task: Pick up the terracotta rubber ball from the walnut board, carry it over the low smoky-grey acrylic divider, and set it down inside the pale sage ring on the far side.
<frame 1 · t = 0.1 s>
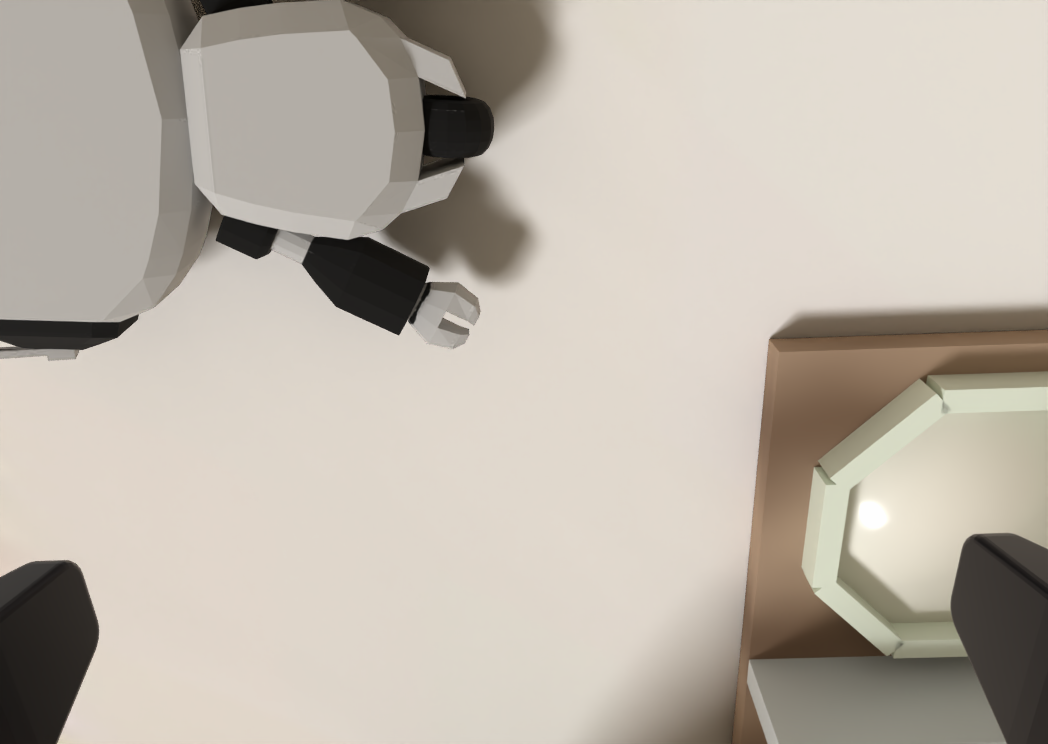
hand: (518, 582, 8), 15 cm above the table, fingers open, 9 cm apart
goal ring: (962, 514, 24), resting on fence board
fence board: (917, 633, 27), on the table
robot toy: (210, 102, 20), on the table
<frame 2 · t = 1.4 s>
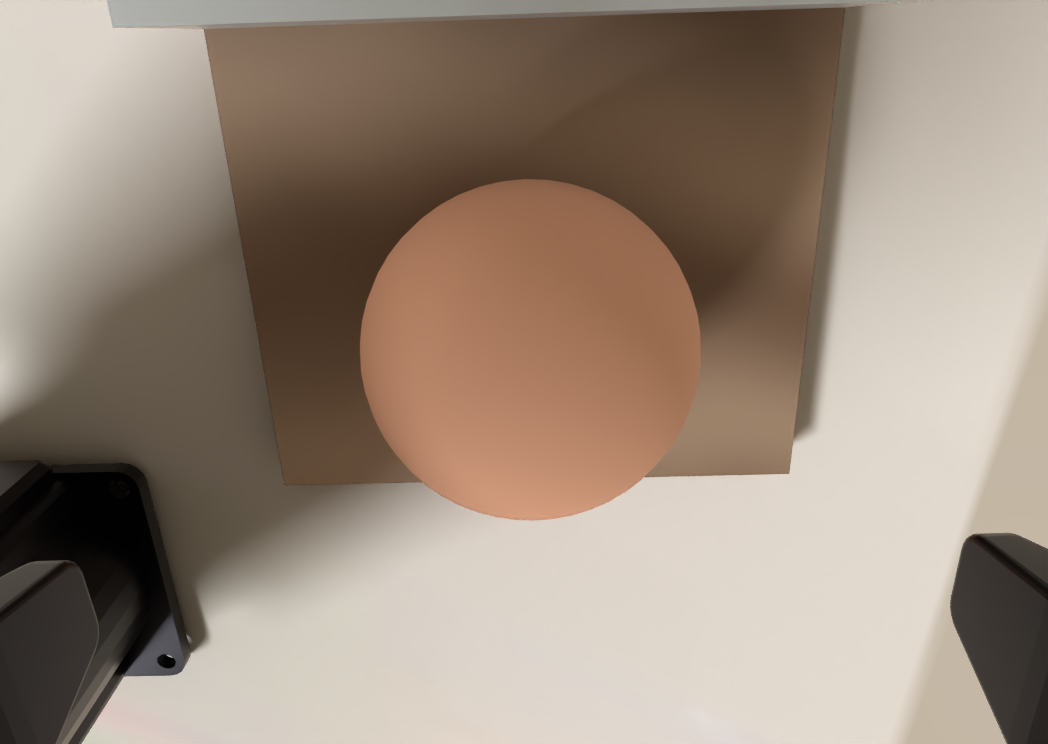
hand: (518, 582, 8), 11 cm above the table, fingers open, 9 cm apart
rubber ball: (530, 350, 14), point 4 cm above the table, touching fence board
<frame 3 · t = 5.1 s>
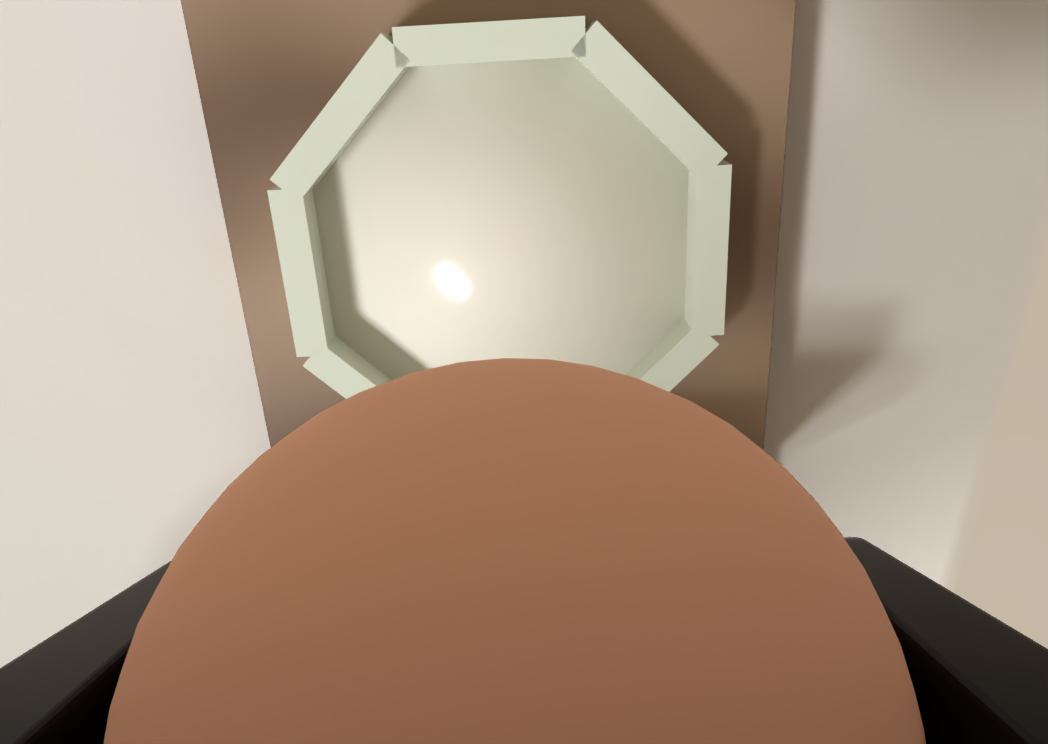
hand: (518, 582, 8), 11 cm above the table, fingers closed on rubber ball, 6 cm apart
rubber ball: (516, 727, 6), point 13 cm above the table, touching gripper
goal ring: (504, 253, 17), resting on fence board
fence board: (519, 452, 20), on the table
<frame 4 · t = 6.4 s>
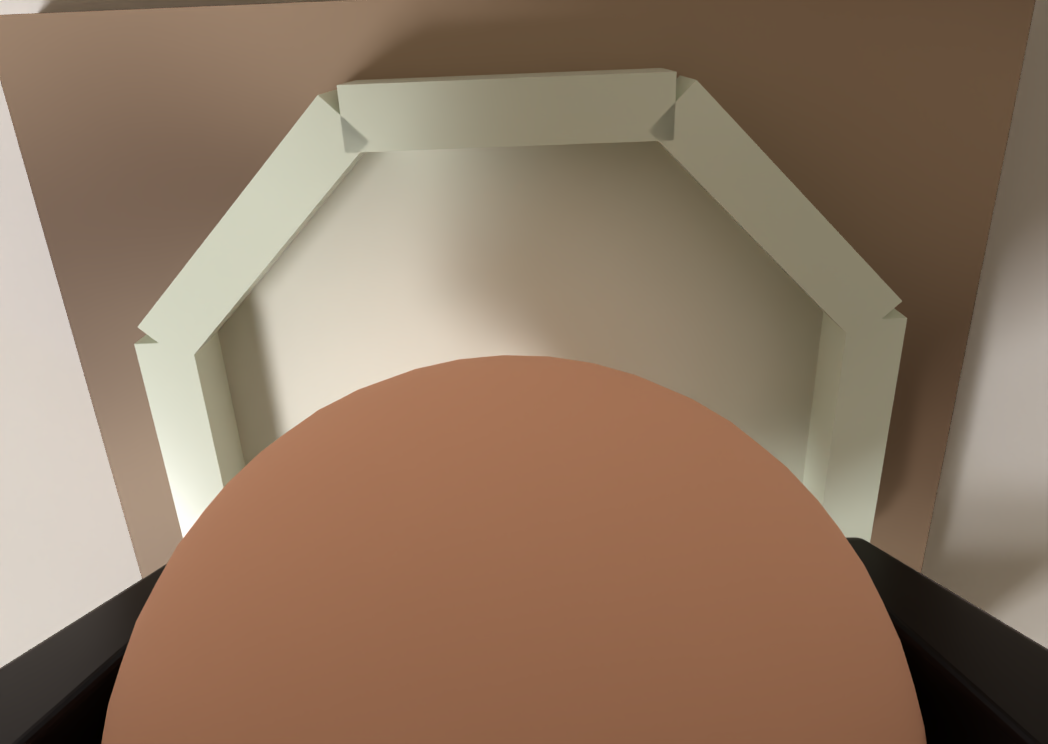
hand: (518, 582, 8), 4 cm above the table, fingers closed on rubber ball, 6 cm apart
rubber ball: (515, 725, 6), point 6 cm above the table, touching gripper
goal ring: (523, 426, 11), resting on fence board
fence board: (535, 671, 14), on the table
when the fingers open (4 cm above the table, at t = 7.4 s): rubber ball drops 1 cm, resting on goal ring.
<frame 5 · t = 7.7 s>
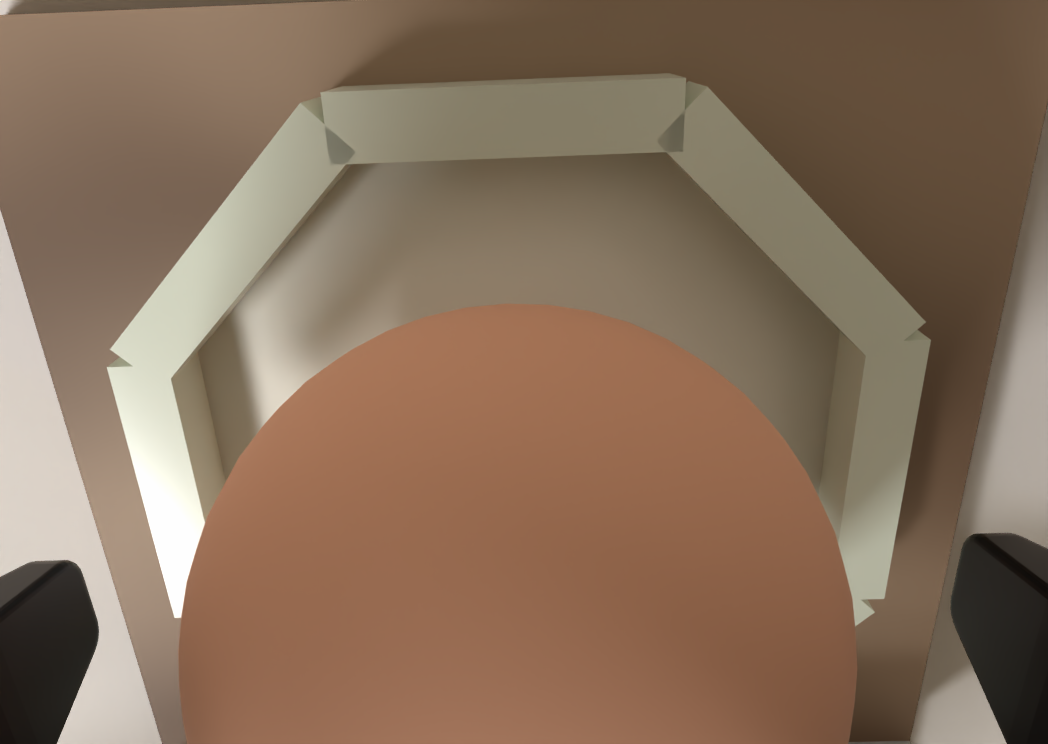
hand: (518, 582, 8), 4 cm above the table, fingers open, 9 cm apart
rubber ball: (518, 615, 8), point 4 cm above the table, touching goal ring
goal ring: (521, 450, 10), resting on fence board
fence board: (534, 700, 14), on the table
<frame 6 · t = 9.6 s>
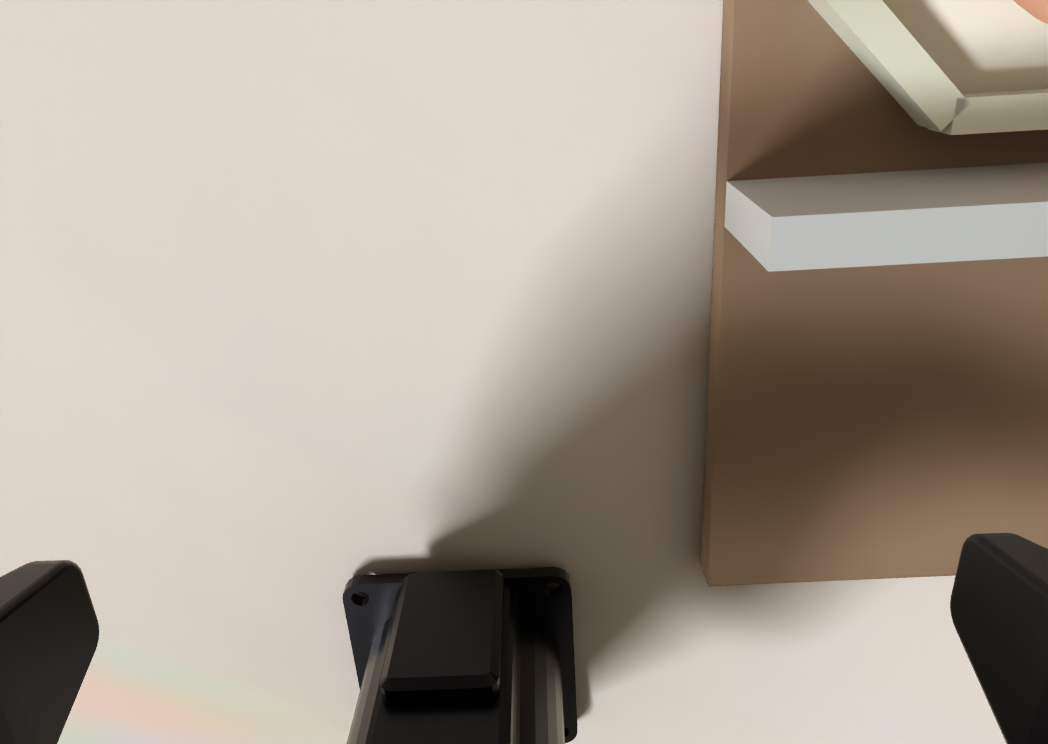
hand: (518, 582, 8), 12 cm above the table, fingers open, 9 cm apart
fence board: (981, 157, 18), on the table
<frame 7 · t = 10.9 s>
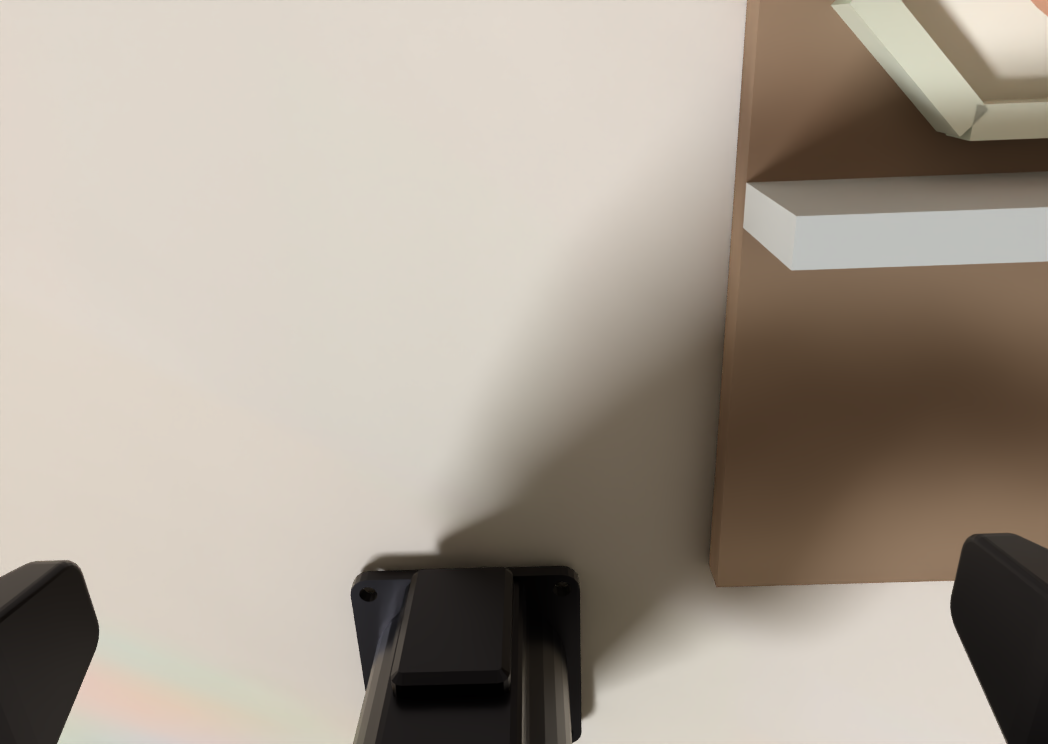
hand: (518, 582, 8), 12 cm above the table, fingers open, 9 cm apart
fence board: (996, 165, 18), on the table
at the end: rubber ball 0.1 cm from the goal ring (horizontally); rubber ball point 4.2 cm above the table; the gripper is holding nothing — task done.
